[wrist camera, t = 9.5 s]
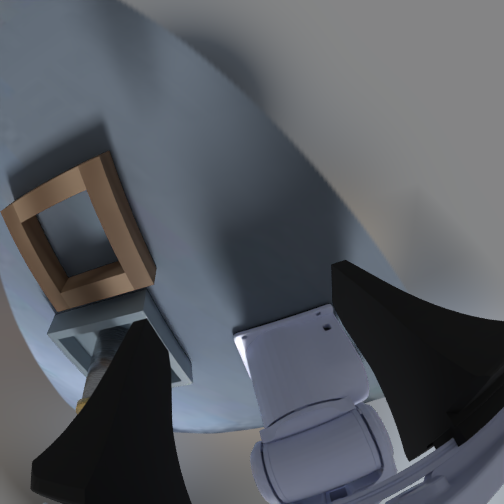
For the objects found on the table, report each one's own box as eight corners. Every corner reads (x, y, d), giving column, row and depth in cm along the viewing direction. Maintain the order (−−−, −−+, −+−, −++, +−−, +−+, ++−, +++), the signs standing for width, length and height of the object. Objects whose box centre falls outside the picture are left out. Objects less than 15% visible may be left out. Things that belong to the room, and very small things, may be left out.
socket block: (109, 150, 14) (99, 156, 12) (156, 268, 19) (153, 284, 17) (14, 201, 14) (0, 211, 12) (65, 296, 18) (57, 311, 17)
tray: (146, 289, 20) (143, 310, 17) (191, 363, 25) (193, 383, 23) (55, 314, 19) (46, 334, 17) (109, 378, 24) (107, 396, 22)
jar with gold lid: (127, 318, 20) (112, 404, 13) (152, 352, 22) (147, 431, 15) (85, 327, 20) (63, 405, 13) (111, 359, 22) (100, 432, 15)
